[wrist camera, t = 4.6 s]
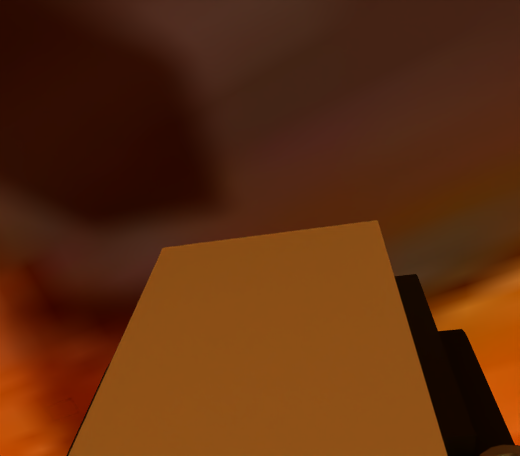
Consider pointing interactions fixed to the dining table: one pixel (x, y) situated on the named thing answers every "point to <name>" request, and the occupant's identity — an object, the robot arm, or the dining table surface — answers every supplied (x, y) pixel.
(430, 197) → the dining table surface
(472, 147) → the dining table surface
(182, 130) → the dining table surface
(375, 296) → the cream block
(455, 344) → the robot arm
